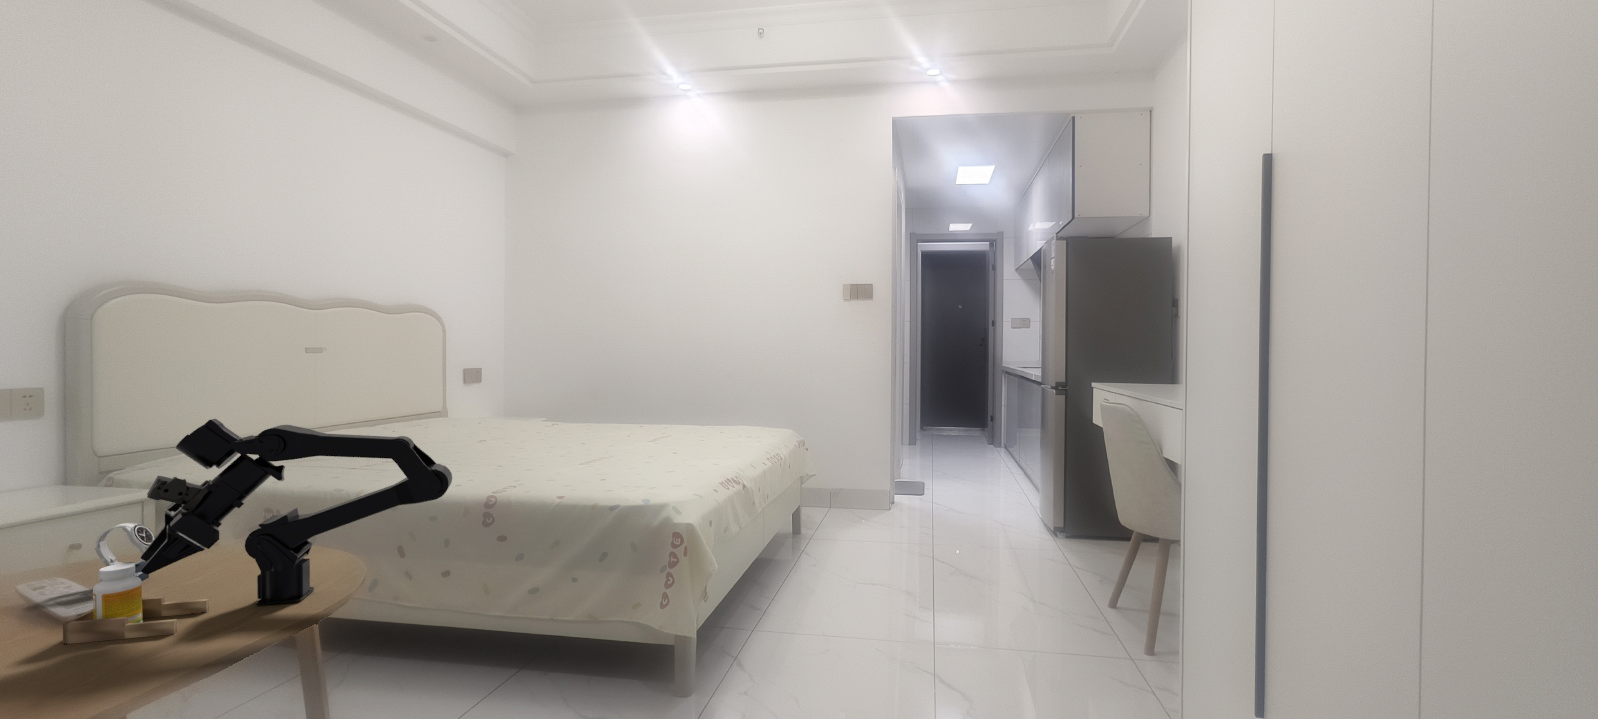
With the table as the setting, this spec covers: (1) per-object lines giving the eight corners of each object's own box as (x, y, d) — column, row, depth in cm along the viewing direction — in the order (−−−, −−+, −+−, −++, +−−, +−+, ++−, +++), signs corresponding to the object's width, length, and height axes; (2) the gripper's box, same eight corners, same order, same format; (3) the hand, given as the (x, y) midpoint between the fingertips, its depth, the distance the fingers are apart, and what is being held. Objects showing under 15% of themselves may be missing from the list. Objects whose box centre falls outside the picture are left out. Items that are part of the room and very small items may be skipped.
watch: (144, 585, 125) (143, 526, 125) (88, 590, 123) (87, 529, 122) (161, 575, 130) (161, 518, 130) (108, 580, 128) (108, 522, 128)
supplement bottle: (152, 622, 108) (151, 561, 108) (115, 636, 103) (113, 572, 103) (121, 620, 109) (120, 560, 109) (83, 635, 104) (82, 571, 103)
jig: (209, 610, 113) (209, 592, 113) (174, 633, 104) (173, 614, 104) (108, 619, 110) (108, 600, 109) (63, 644, 100) (62, 624, 100)
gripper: (183, 450, 118) (93, 526, 110) (189, 463, 105) (87, 550, 97) (242, 489, 124) (160, 563, 116) (255, 506, 110) (164, 591, 103)
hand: (143, 565), depth 108 cm, fingers open, 9 cm apart
